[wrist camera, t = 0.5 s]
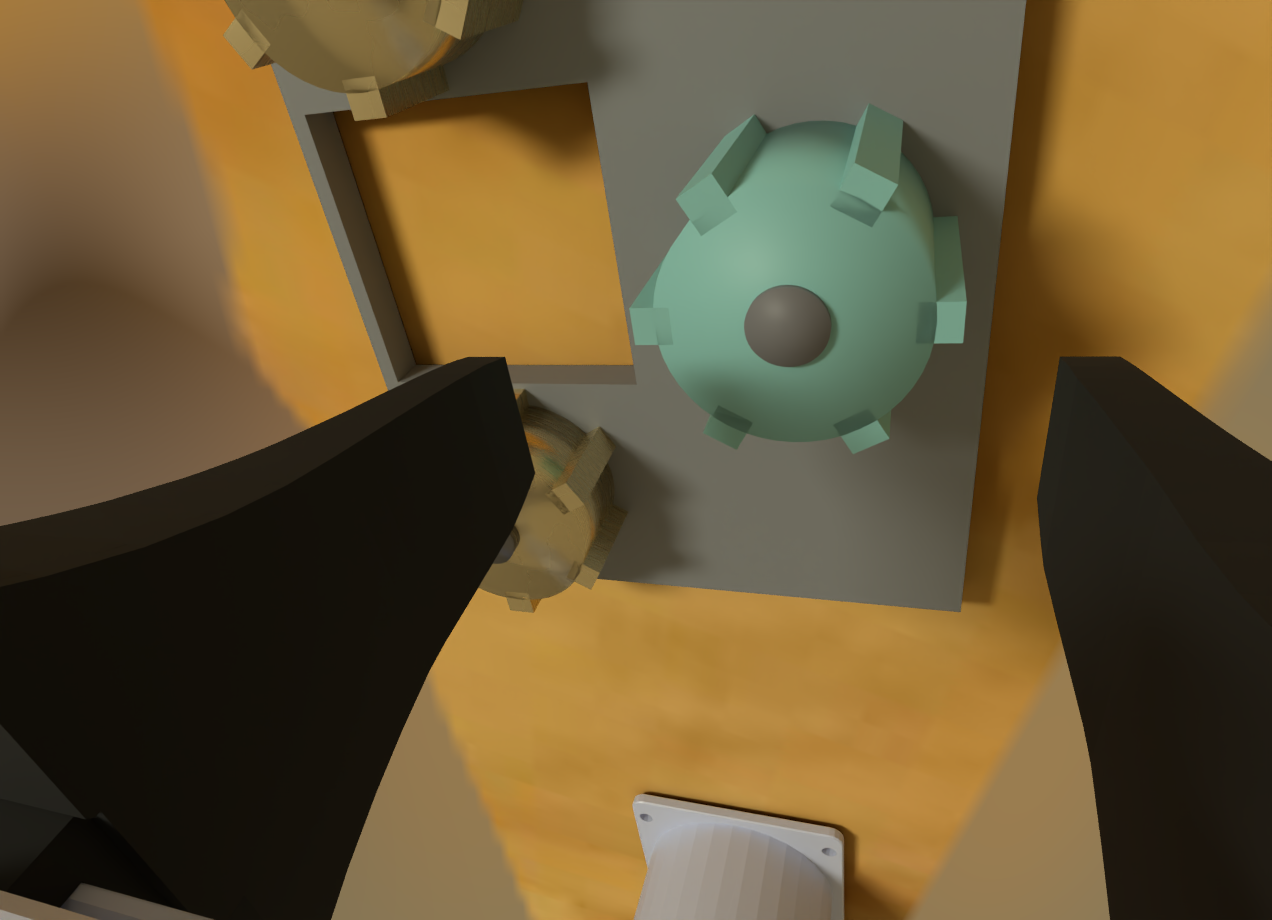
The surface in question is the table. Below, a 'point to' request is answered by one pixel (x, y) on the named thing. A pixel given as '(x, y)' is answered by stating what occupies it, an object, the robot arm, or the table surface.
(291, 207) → the table surface
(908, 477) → the gear board
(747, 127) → the teal gear
